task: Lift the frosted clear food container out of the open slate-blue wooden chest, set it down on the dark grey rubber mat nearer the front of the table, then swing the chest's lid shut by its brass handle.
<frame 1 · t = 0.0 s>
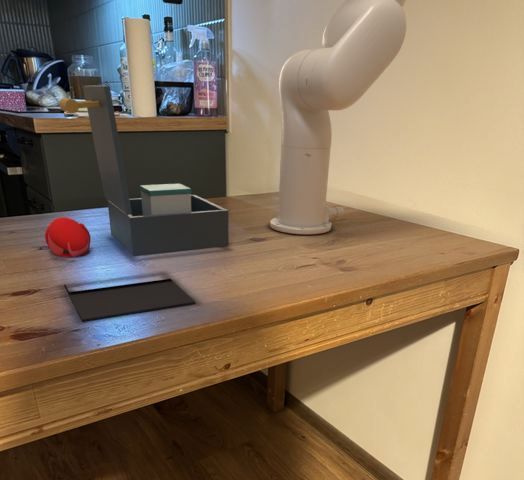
mat: (127, 294, 66), on the table
chest: (168, 244, 89), on the table
lid: (91, 150, 76), point 16 cm above the table, hinge at 95.0°
cap: (71, 257, 81), on the table
container: (168, 239, 88), point 1 cm above the table, touching chest
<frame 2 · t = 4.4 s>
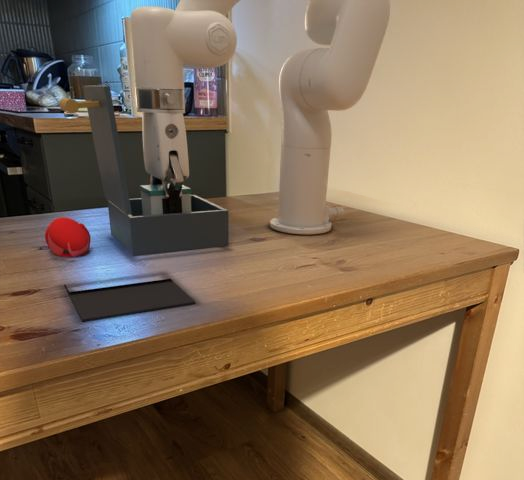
hand: (167, 217, 86), 5 cm above the table, tool pointing down, fingers closed on container, 5 cm apart
container: (168, 239, 88), point 1 cm above the table, touching chest, gripper
everything else where it was.
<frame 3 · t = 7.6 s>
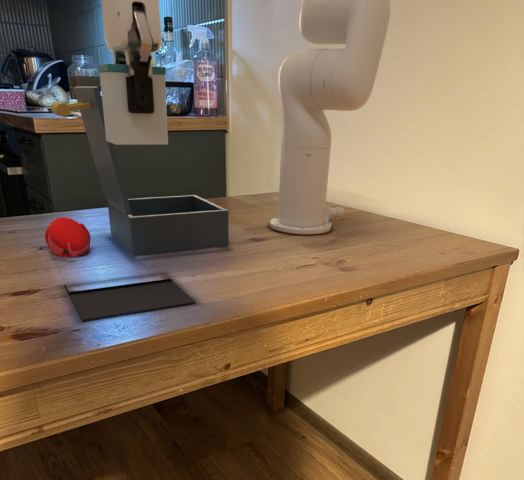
hand: (134, 110, 65), 22 cm above the table, tool pointing down, fingers closed on container, 5 cm apart
lid: (86, 152, 76), point 15 cm above the table, hinge at 100.0°
container: (136, 142, 67), point 18 cm above the table, touching gripper
everything else where it was.
when the fingers open (4 cm above the table, at t = 12.9 s): container stays where it is, resting on mat.
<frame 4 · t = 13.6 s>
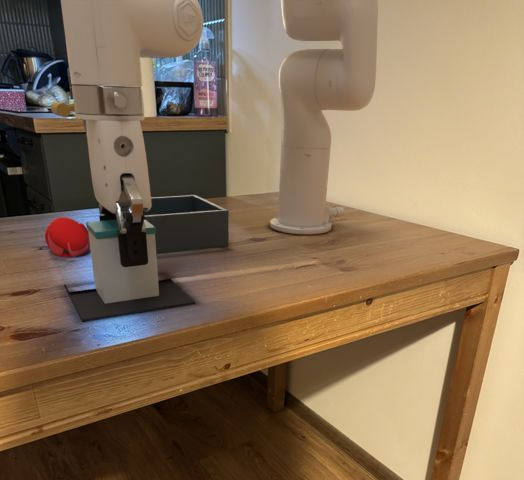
hand: (124, 254, 63), 5 cm above the table, tool pointing down, fingers open, 9 cm apart
container: (127, 292, 66), resting on mat
everything else where it was.
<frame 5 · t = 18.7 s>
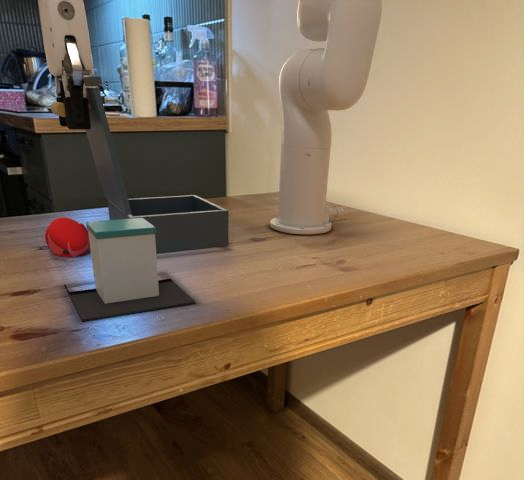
hand: (75, 126, 74), 19 cm above the table, tool pointing down, fingers closed on lid, 6 cm apart
lid: (86, 152, 76), point 15 cm above the table, hinge at 100.0°, touching gripper
everything else where it was.
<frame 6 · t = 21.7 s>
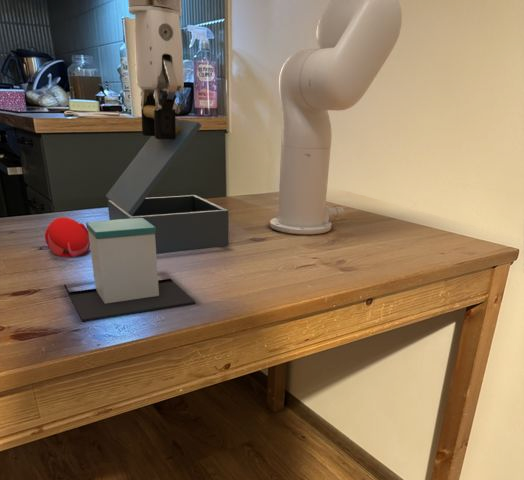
hand: (158, 136, 80), 18 cm above the table, tool pointing down, fingers closed on lid, 6 cm apart
lid: (138, 152, 80), point 15 cm above the table, hinge at 47.0°, touching gripper
everything else where it was.
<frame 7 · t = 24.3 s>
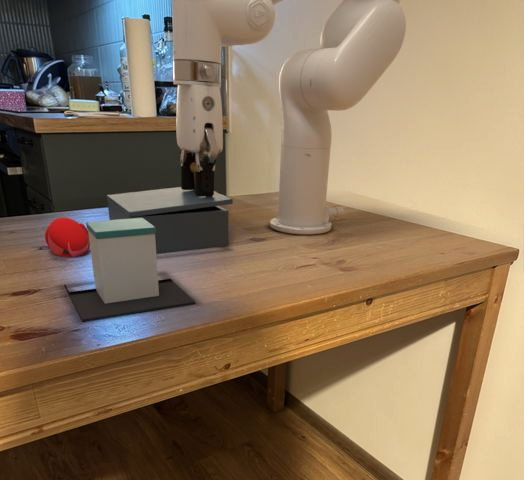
hand: (197, 191, 87), 9 cm above the table, tool pointing down, fingers closed on lid, 6 cm apart
lid: (166, 184, 84), point 10 cm above the table, hinge at 3.2°, touching gripper
everything else where it was.
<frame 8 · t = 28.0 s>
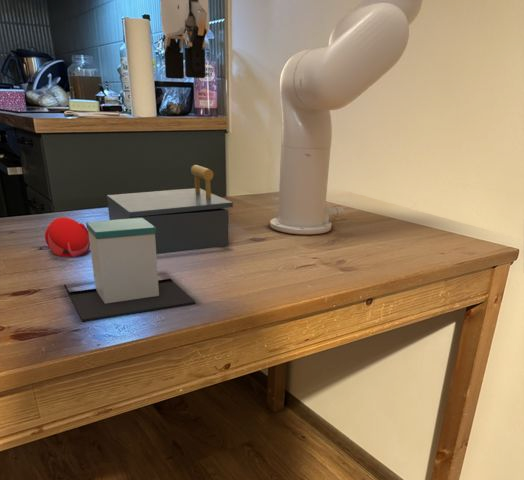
hand: (184, 78, 83), 26 cm above the table, tool pointing down, fingers open, 9 cm apart
lid: (167, 186, 84), point 10 cm above the table, hinge at 1.3°
everything else where it was.
at the end: container inside the target area on the mat (0.1 cm from its centre), point 0.3 cm above the mat's base; container tilted 0°; lid at +1° (first picture: +95°) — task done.
